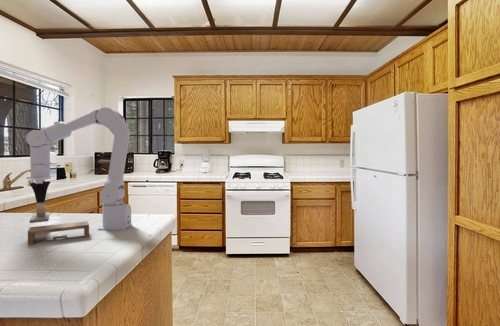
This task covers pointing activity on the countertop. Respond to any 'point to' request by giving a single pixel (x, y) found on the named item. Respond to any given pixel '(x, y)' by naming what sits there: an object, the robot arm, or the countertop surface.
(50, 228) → the brown wooden bridge
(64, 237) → the silver flat dome
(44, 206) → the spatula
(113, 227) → the robot arm
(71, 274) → the countertop surface
